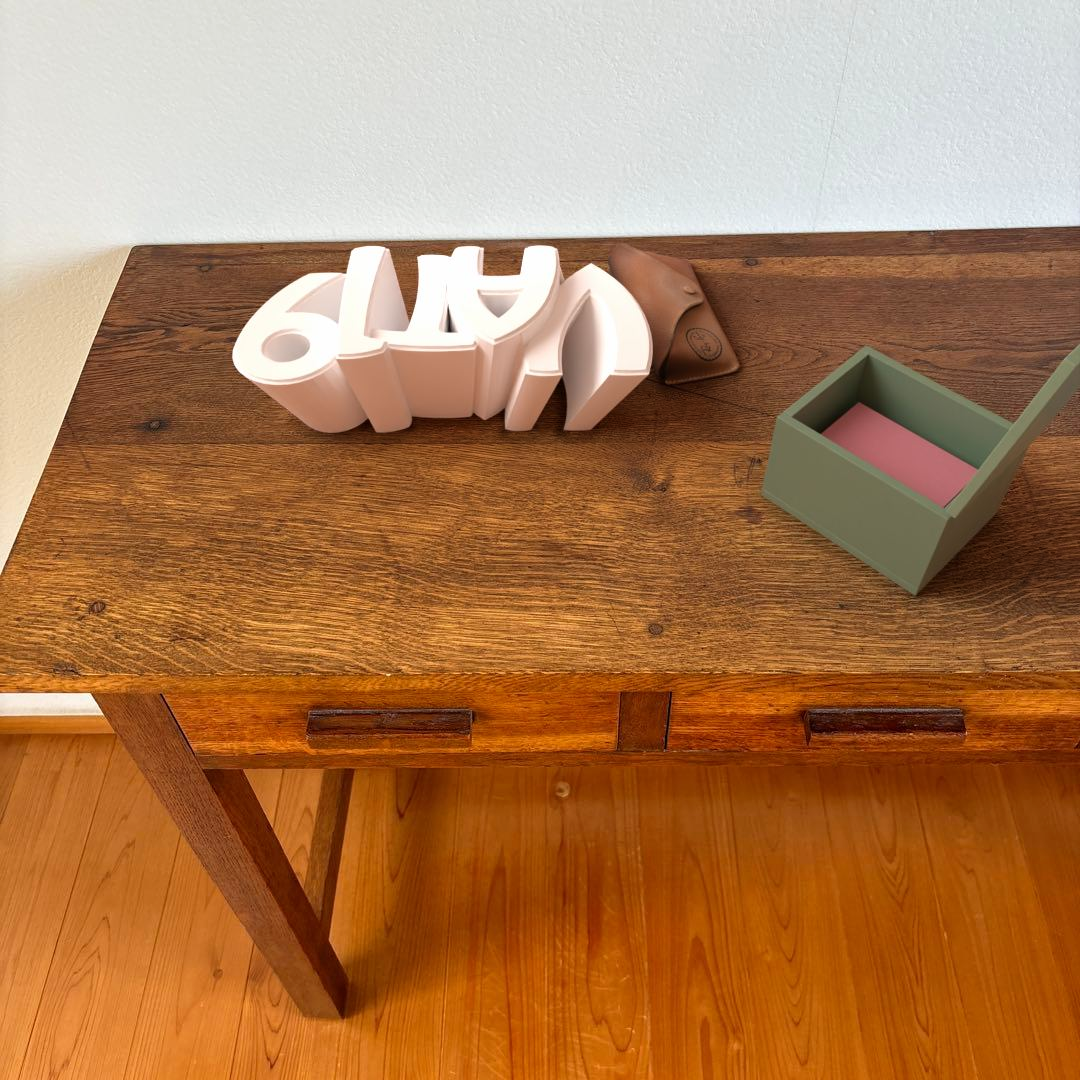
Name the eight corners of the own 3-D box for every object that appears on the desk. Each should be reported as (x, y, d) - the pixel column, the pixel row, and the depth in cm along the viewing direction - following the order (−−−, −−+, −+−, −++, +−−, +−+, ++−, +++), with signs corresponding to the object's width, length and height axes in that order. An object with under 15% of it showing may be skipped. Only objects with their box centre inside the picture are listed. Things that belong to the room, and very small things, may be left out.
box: (760, 495, 83) (776, 416, 76) (844, 424, 88) (866, 344, 81) (915, 596, 76) (948, 520, 69) (996, 513, 81) (1034, 434, 74)
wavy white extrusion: (648, 337, 96) (655, 241, 88) (646, 463, 86) (653, 367, 78) (287, 328, 99) (261, 233, 90) (242, 449, 88) (208, 354, 80)
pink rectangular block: (963, 510, 80) (981, 471, 77) (914, 559, 77) (929, 520, 74) (847, 441, 86) (859, 401, 82) (796, 484, 83) (806, 445, 79)
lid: (1064, 358, 56) (1077, 366, 56) (1160, 267, 61) (1172, 274, 61) (945, 512, 69) (954, 519, 69) (1032, 426, 74) (1041, 433, 74)
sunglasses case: (748, 367, 92) (718, 323, 87) (681, 408, 94) (649, 367, 89) (686, 254, 103) (657, 210, 99) (627, 293, 105) (596, 251, 101)
